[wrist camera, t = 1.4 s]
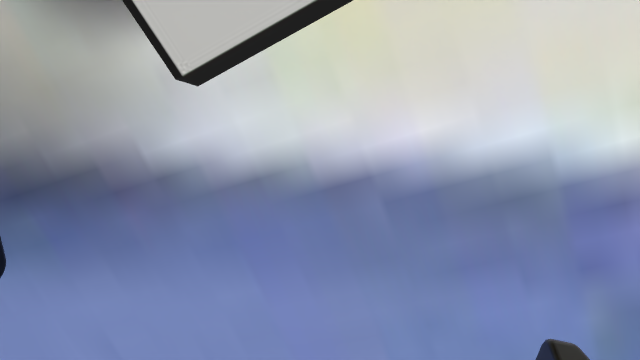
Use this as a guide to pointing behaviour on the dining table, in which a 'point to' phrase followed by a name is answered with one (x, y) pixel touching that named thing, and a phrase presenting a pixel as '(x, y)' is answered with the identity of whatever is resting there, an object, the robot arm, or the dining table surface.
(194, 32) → the puzzle cube
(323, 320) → the dining table surface
